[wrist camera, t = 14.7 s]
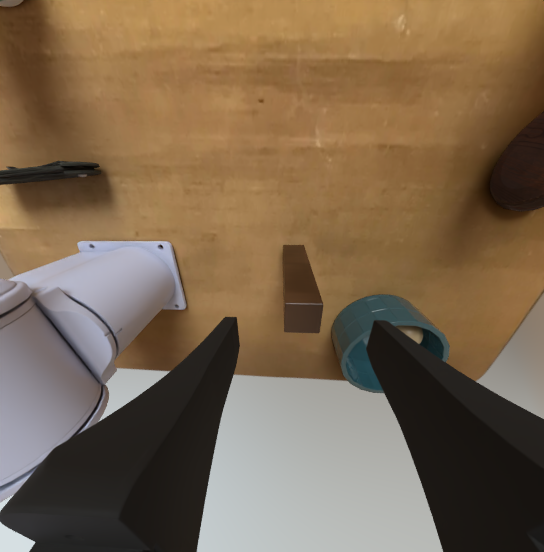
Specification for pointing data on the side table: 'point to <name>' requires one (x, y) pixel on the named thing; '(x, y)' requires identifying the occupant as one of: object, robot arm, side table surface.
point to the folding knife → (48, 172)
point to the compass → (521, 170)
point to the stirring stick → (300, 292)
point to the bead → (412, 332)
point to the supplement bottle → (10, 3)
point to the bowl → (357, 327)
